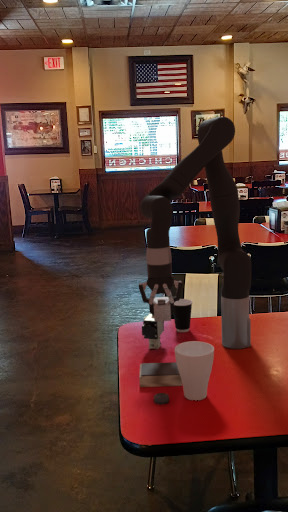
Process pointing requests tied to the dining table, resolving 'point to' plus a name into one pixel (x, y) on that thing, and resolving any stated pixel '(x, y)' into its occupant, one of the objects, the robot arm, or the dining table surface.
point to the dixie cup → (182, 314)
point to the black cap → (161, 398)
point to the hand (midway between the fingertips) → (162, 314)
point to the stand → (159, 374)
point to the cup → (194, 367)
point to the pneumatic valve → (152, 331)
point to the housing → (162, 309)
